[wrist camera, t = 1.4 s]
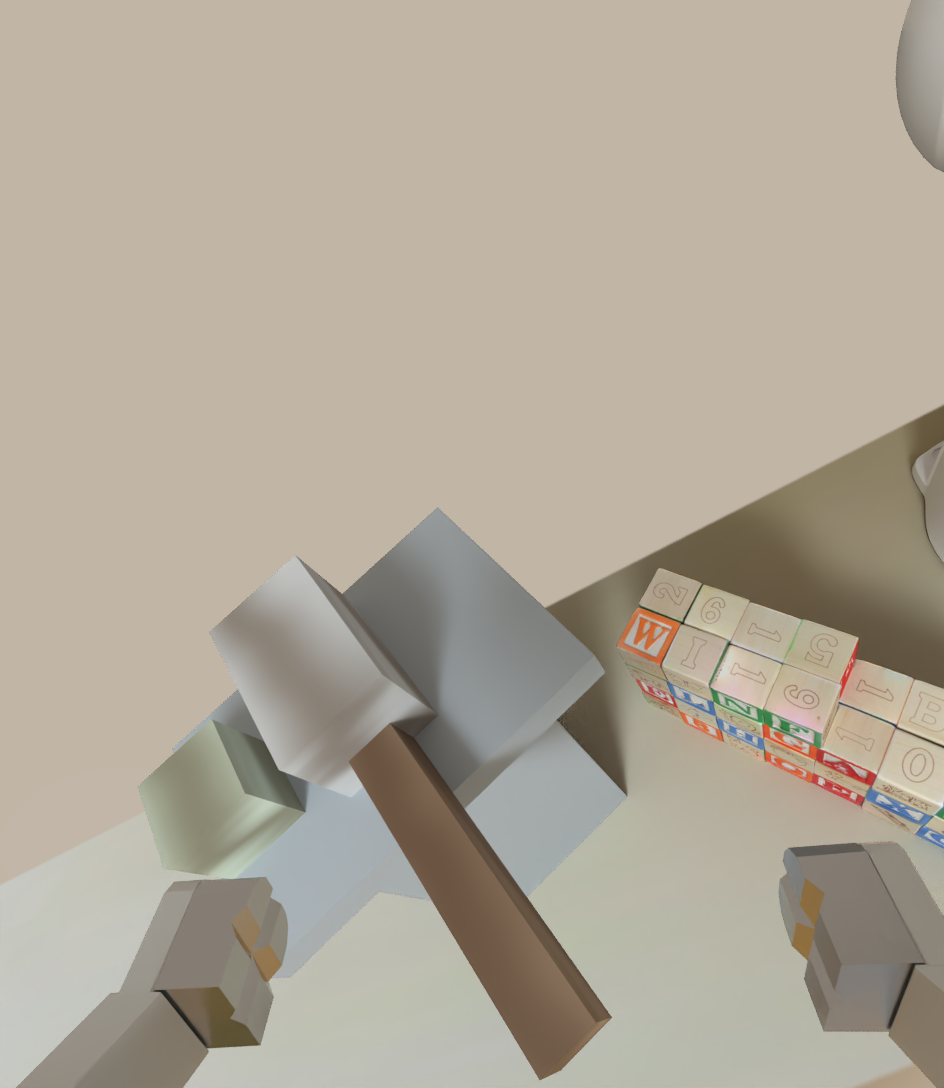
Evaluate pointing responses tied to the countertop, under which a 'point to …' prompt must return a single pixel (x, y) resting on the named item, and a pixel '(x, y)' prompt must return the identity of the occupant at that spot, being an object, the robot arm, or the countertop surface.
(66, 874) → the countertop surface
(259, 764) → the sage cube
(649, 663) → the stack of blocks
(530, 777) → the grey pedestal
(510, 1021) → the steel-headed mallet
